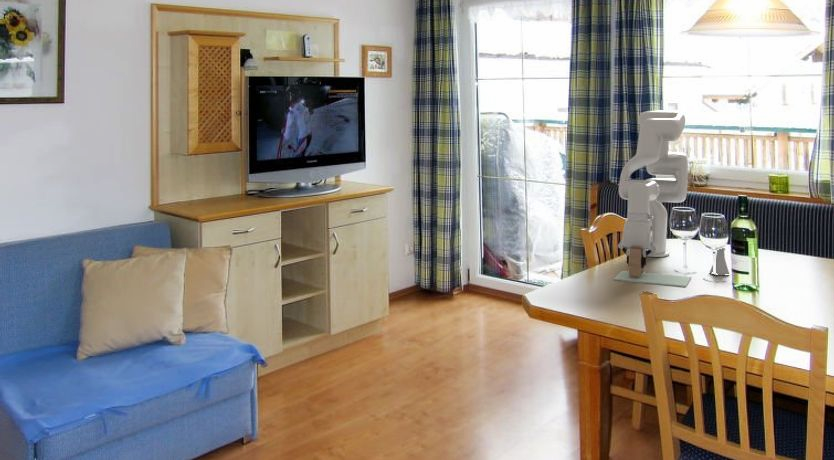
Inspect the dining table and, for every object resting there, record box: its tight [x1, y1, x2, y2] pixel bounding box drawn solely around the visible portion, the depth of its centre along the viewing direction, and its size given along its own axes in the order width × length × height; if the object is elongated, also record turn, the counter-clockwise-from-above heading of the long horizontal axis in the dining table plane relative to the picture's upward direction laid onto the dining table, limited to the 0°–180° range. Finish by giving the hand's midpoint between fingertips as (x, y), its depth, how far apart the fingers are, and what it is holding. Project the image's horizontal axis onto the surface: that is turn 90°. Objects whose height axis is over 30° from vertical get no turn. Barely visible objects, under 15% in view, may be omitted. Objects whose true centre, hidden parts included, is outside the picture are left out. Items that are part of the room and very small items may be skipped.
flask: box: [709, 247, 730, 275], centre depth 282 cm, size 7×7×10 cm
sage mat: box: [613, 270, 692, 288], centre depth 277 cm, size 13×25×1 cm, turn 63°
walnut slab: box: [628, 248, 645, 276], centre depth 279 cm, size 8×4×10 cm, turn 153°
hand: (636, 265), depth 279 cm, fingers closed on walnut slab, 4 cm apart
